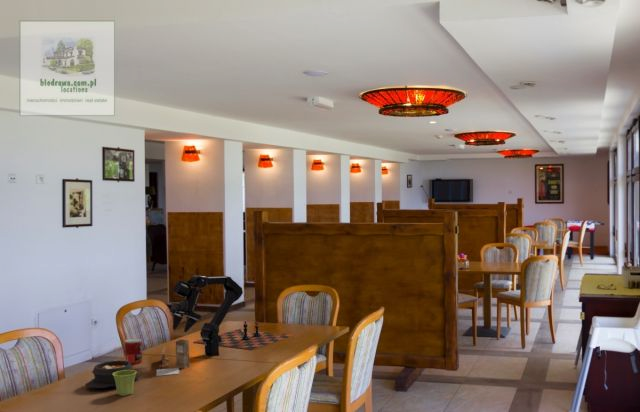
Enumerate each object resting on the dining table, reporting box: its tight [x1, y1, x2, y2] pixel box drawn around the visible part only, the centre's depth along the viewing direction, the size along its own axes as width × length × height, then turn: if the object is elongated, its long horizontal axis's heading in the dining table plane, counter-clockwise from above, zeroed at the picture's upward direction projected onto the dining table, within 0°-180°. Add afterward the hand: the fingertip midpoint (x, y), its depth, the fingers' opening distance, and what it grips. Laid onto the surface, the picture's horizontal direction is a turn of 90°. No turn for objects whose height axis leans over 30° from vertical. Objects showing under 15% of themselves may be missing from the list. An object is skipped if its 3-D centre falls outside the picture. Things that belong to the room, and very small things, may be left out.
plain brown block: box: [175, 339, 190, 370], centre depth 318 cm, size 4×4×12 cm
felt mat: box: [155, 367, 180, 377], centre depth 310 cm, size 10×10×1 cm
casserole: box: [84, 360, 140, 389], centre depth 293 cm, size 25×19×8 cm
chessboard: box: [193, 321, 295, 351], centre depth 376 cm, size 40×40×11 cm
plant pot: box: [113, 369, 138, 397], centre depth 278 cm, size 9×9×9 cm
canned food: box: [124, 337, 143, 365], centre depth 329 cm, size 8×8×11 cm
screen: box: [159, 347, 169, 368], centre depth 326 cm, size 4×14×6 cm, turn 13°
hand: (179, 330), depth 327 cm, fingers open, 9 cm apart
